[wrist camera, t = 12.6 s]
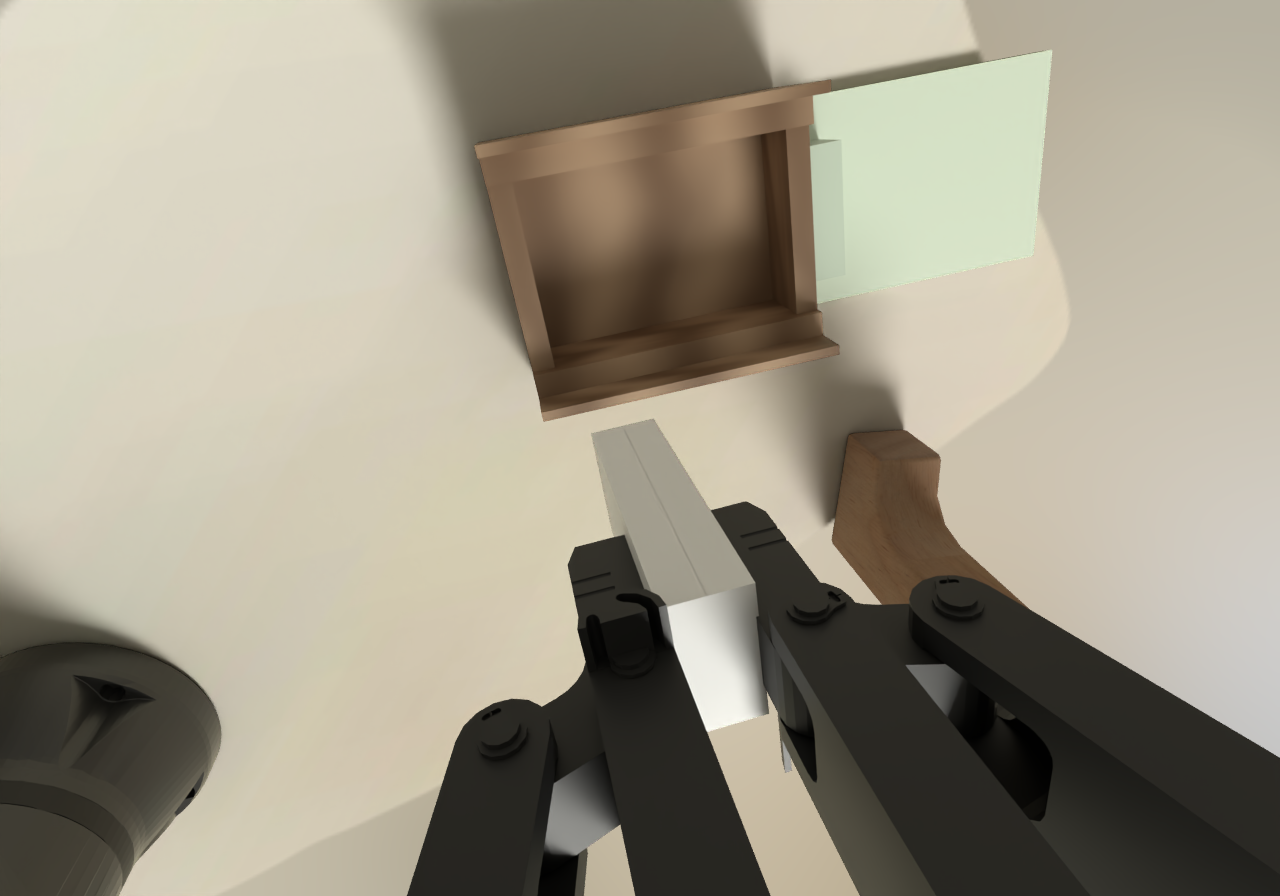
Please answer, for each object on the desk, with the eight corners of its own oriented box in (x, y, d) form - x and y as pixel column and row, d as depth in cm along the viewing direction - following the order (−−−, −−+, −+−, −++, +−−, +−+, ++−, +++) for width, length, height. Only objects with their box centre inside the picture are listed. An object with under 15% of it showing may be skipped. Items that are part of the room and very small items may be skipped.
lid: (785, 304, 42) (812, 320, 39) (771, 102, 37) (800, 99, 34) (1020, 252, 44) (1066, 263, 40) (1037, 51, 39) (1091, 43, 35)
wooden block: (846, 431, 47) (1029, 590, 31) (906, 427, 47) (1115, 580, 31) (829, 542, 50) (983, 735, 34) (884, 536, 51) (1061, 723, 35)
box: (536, 376, 41) (543, 421, 34) (478, 142, 35) (474, 146, 29) (788, 320, 42) (839, 354, 36) (773, 87, 36) (830, 79, 30)
